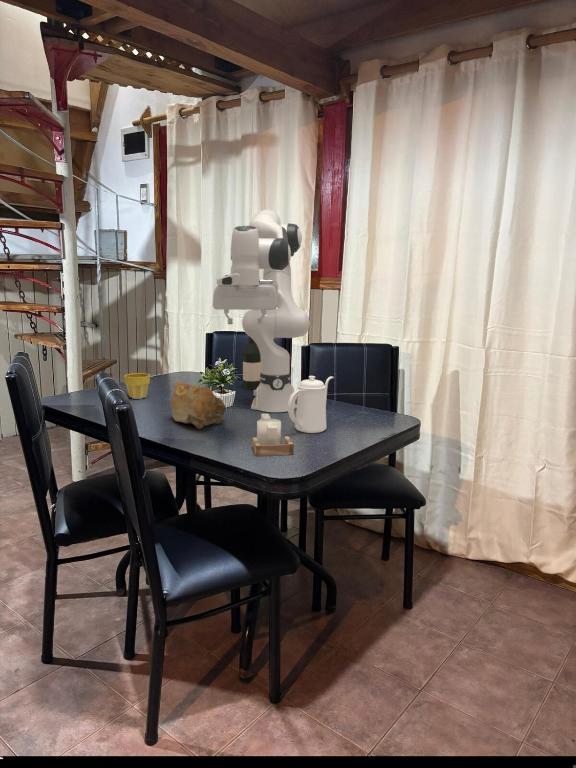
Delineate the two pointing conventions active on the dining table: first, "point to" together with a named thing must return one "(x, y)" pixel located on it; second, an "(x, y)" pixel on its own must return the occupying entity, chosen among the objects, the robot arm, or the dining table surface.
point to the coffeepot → (309, 405)
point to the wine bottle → (251, 366)
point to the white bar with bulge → (268, 430)
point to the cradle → (273, 448)
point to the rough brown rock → (196, 405)
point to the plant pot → (137, 384)
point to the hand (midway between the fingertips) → (245, 324)
